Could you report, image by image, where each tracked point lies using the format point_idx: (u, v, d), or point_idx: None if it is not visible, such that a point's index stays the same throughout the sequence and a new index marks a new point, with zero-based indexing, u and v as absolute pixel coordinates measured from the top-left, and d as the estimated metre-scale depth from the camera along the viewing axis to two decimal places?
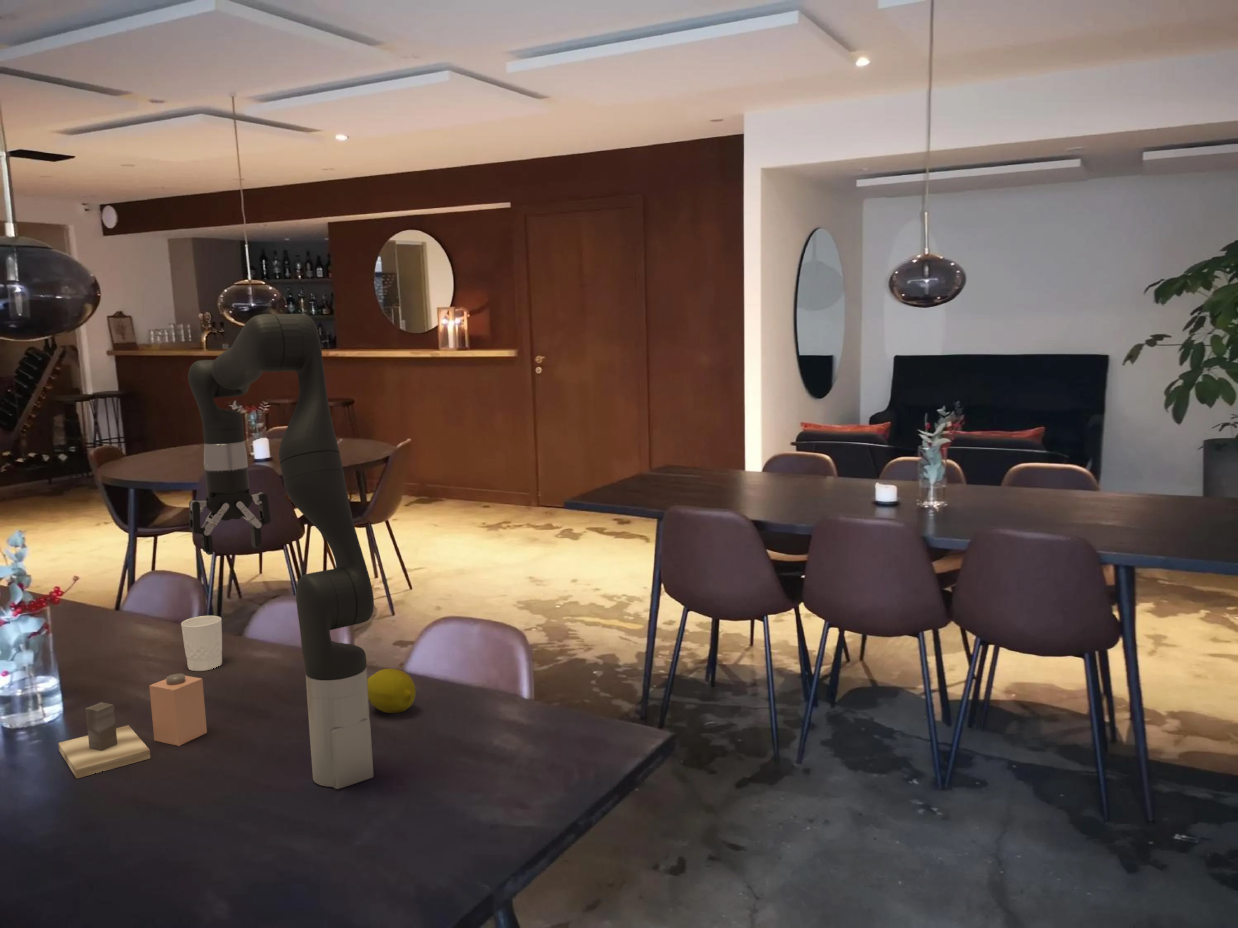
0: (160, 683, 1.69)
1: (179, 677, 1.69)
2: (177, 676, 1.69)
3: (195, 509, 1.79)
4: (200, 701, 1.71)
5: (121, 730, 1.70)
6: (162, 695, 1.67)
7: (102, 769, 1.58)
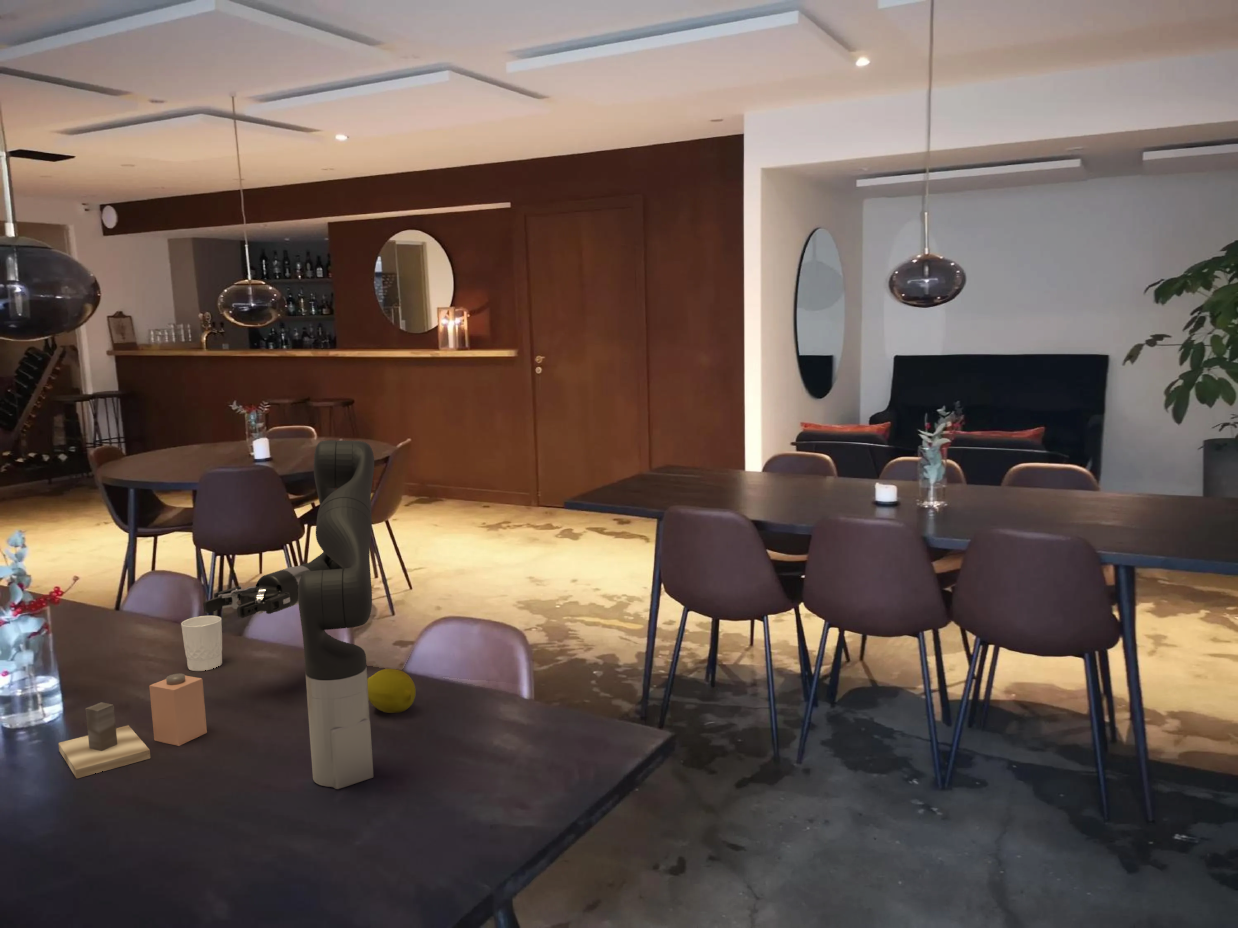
0: (160, 683, 1.69)
1: (179, 677, 1.69)
2: (177, 676, 1.69)
3: (233, 588, 1.89)
4: (200, 701, 1.71)
5: (121, 730, 1.70)
6: (162, 695, 1.67)
7: (102, 769, 1.58)
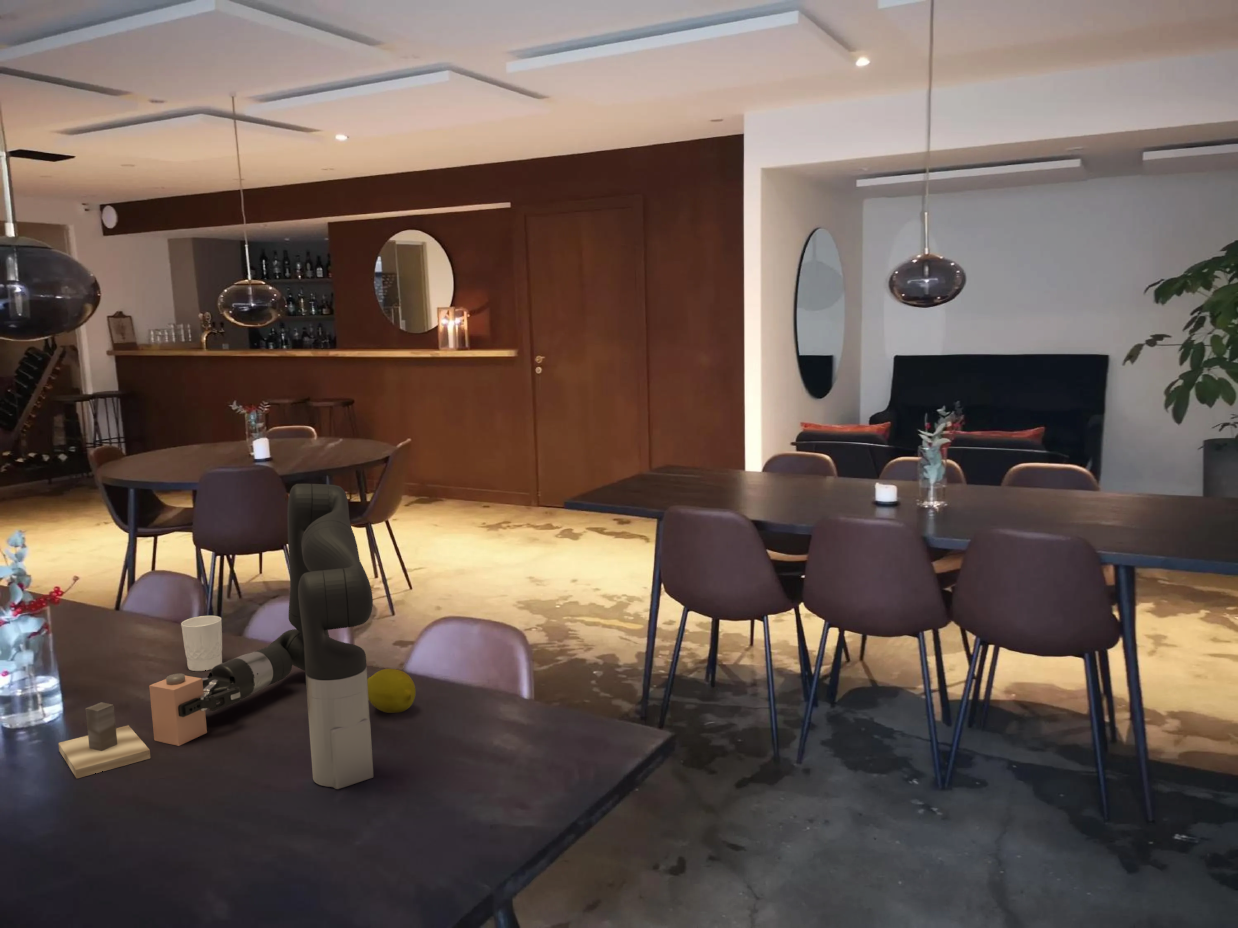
0: (160, 683, 1.69)
1: (179, 677, 1.69)
2: (177, 676, 1.69)
3: None
4: None
5: (121, 730, 1.70)
6: (162, 695, 1.67)
7: (102, 769, 1.58)
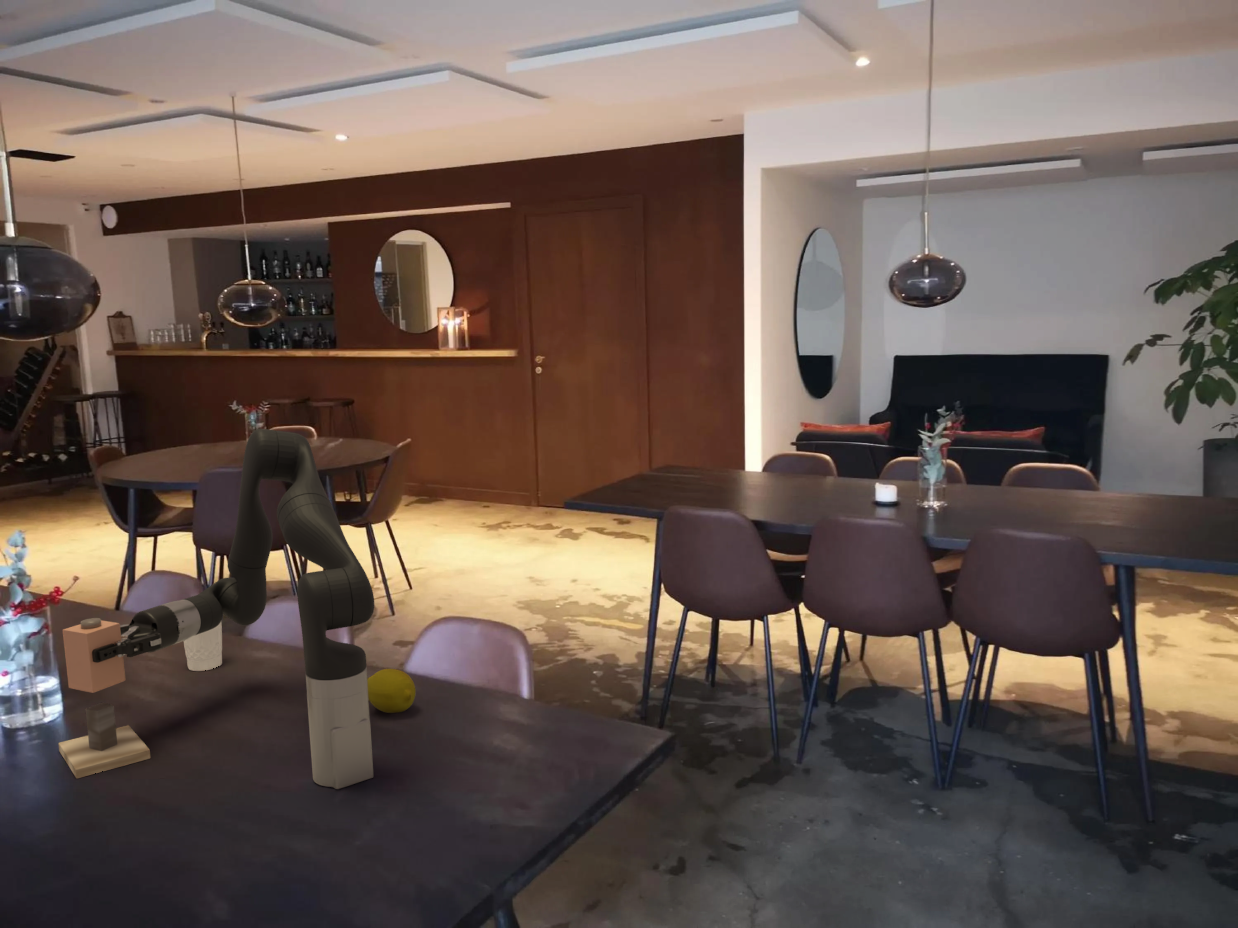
0: (74, 627, 1.61)
1: (94, 621, 1.60)
2: (92, 621, 1.61)
3: None
4: None
5: (121, 730, 1.70)
6: (75, 639, 1.59)
7: (102, 769, 1.58)
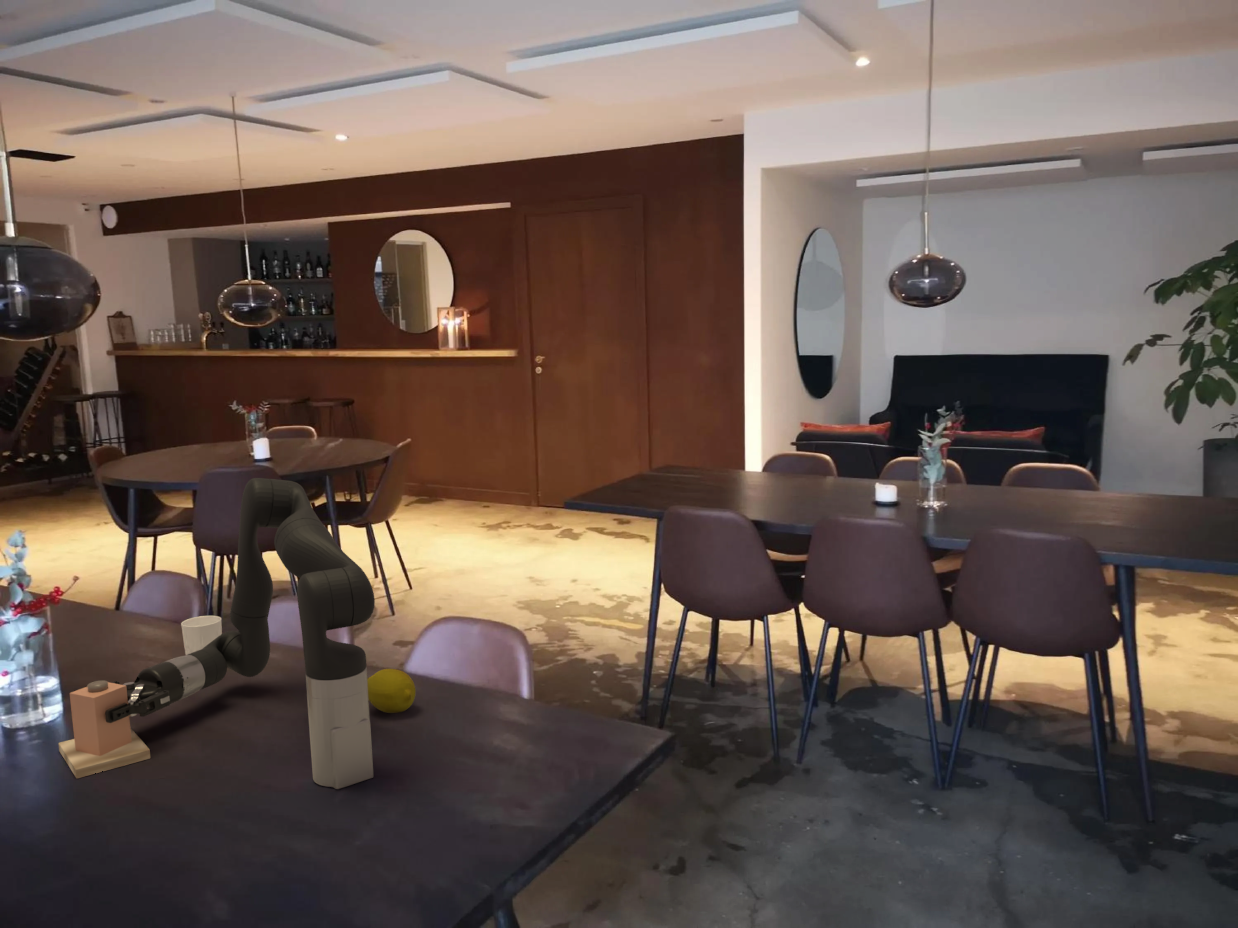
0: (81, 690, 1.62)
1: (101, 684, 1.62)
2: (99, 683, 1.62)
3: None
4: None
5: None
6: (82, 703, 1.60)
7: (102, 769, 1.58)
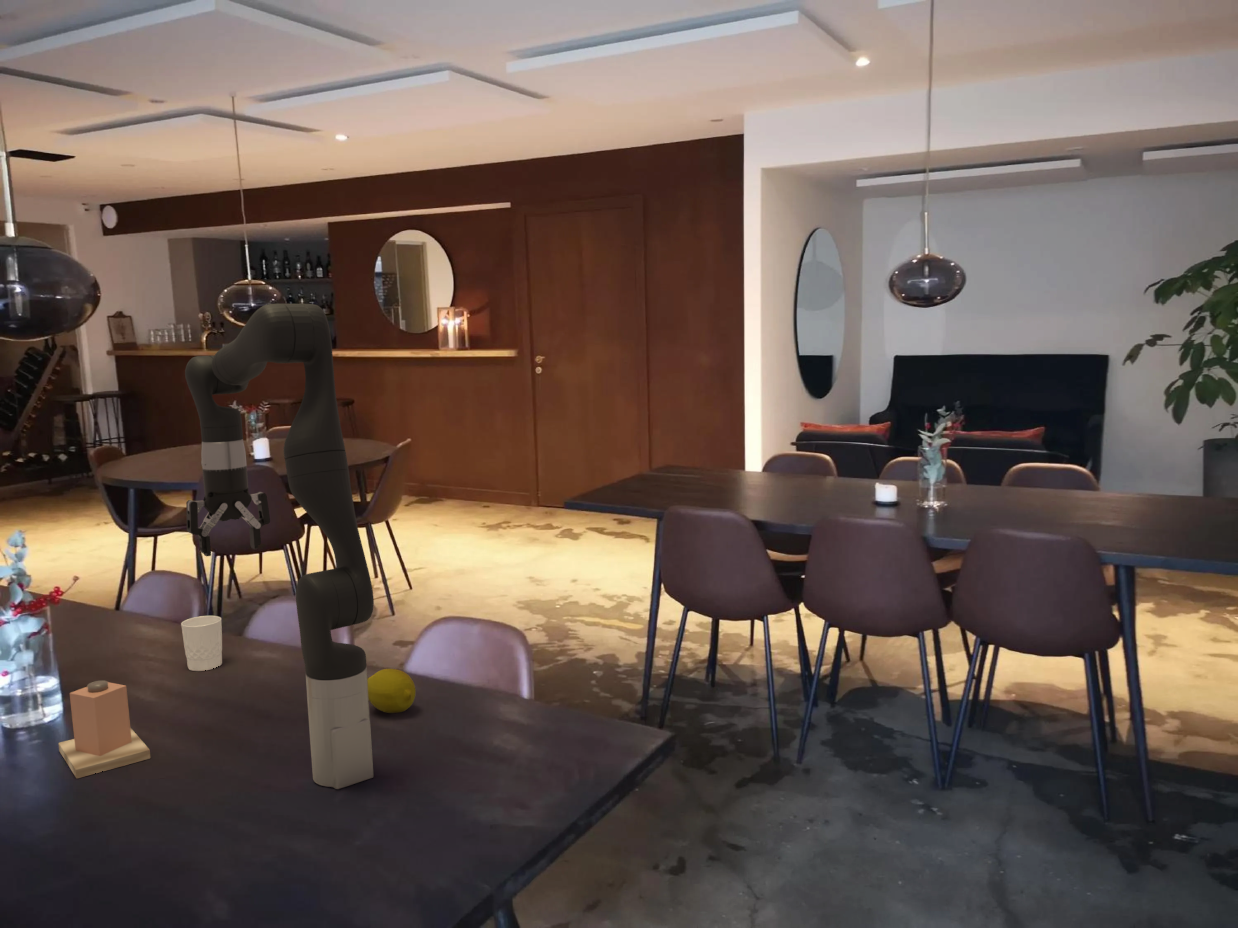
0: (81, 690, 1.62)
1: (101, 684, 1.62)
2: (99, 683, 1.62)
3: (192, 509, 1.73)
4: (124, 709, 1.64)
5: None
6: (82, 703, 1.60)
7: (102, 769, 1.58)
